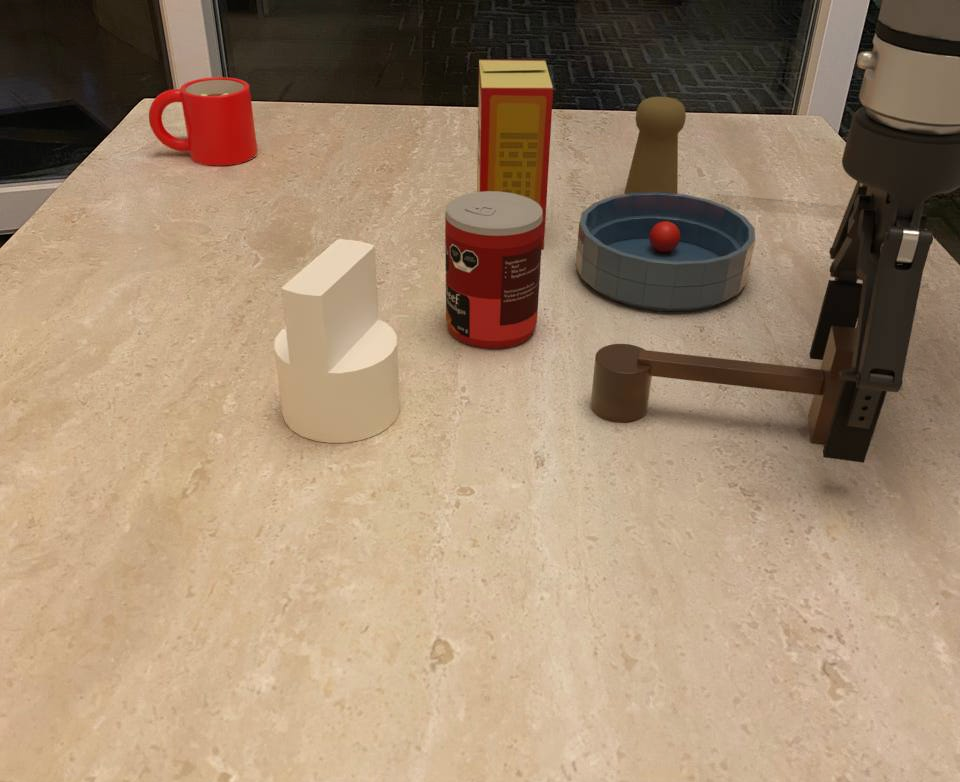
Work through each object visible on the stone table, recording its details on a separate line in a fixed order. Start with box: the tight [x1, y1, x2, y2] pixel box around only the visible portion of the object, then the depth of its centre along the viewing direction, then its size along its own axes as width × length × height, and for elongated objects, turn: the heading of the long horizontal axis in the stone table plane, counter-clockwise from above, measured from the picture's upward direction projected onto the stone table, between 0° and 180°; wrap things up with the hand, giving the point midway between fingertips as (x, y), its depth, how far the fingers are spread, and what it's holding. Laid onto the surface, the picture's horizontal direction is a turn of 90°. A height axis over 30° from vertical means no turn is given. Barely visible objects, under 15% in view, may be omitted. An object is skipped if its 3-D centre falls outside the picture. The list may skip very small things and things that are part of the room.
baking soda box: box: [476, 58, 554, 250], centre depth 99 cm, size 10×6×16 cm
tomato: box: [649, 221, 680, 253], centre depth 98 cm, size 3×3×3 cm
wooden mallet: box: [590, 326, 857, 445], centre depth 75 cm, size 20×4×8 cm, turn 79°
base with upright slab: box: [273, 238, 401, 444], centre depth 74 cm, size 9×9×12 cm
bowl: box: [575, 192, 756, 312], centre depth 95 cm, size 16×16×5 cm
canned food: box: [444, 191, 543, 349], centre depth 84 cm, size 8×8×11 cm
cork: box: [623, 96, 687, 194], centre depth 107 cm, size 6×6×11 cm
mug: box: [148, 76, 258, 166], centre depth 117 cm, size 8×12×8 cm, turn 98°
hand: (834, 404), depth 74 cm, fingers open, 13 cm apart
